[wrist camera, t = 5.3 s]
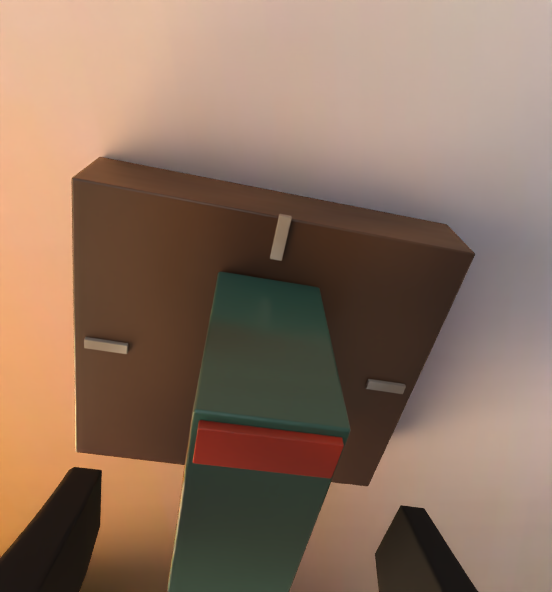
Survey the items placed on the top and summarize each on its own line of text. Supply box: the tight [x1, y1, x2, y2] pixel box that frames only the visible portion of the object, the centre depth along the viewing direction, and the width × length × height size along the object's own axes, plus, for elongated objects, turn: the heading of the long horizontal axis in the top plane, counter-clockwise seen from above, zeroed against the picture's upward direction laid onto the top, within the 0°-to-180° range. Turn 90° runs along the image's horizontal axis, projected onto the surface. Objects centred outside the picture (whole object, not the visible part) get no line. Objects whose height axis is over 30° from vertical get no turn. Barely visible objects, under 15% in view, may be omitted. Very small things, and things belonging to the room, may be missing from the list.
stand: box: [72, 157, 475, 486], centre depth 17 cm, size 12×11×3 cm
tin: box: [167, 272, 351, 592], centre depth 13 cm, size 7×3×6 cm, turn 169°
